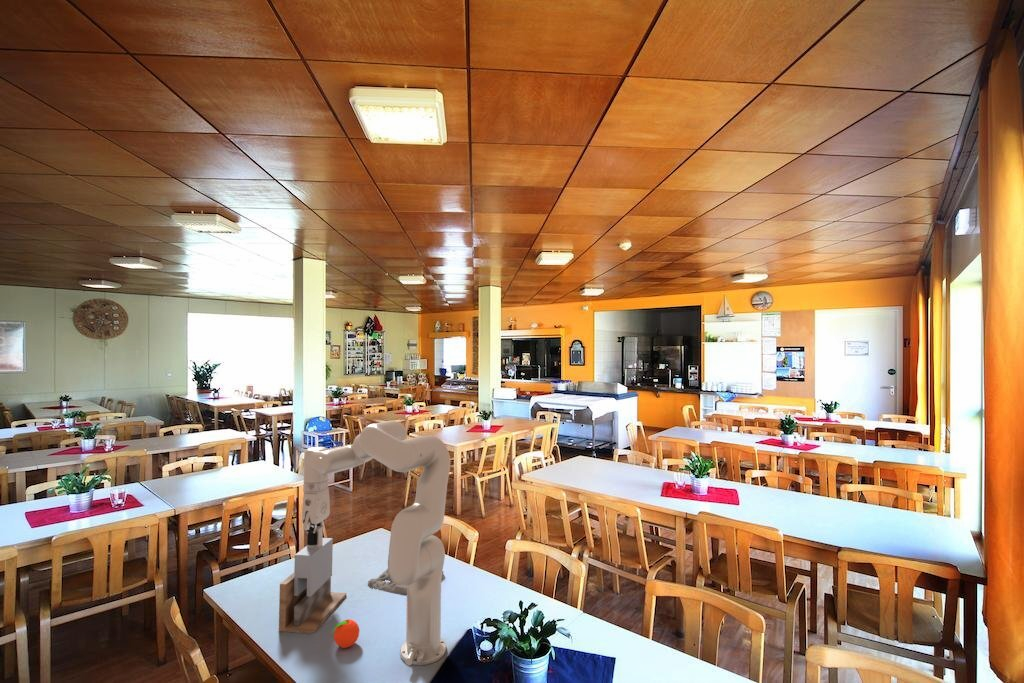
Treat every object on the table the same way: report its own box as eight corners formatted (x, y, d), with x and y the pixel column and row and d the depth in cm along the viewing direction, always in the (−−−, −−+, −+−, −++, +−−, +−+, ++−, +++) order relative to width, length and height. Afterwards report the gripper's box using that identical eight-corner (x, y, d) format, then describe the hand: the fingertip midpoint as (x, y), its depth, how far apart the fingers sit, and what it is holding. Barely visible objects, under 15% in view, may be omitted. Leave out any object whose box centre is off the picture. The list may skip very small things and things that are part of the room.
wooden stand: (313, 633, 140) (314, 585, 140) (278, 631, 141) (279, 583, 141) (346, 596, 162) (347, 555, 162) (315, 594, 163) (316, 553, 163)
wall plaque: (446, 576, 178) (446, 565, 178) (420, 600, 160) (420, 589, 160) (393, 566, 186) (393, 556, 186) (363, 588, 168) (363, 577, 168)
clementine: (333, 658, 129) (334, 631, 129) (326, 645, 134) (327, 620, 135) (362, 647, 133) (363, 622, 134) (354, 635, 139) (355, 611, 139)
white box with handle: (310, 596, 144) (311, 536, 145) (293, 595, 145) (295, 535, 146) (332, 575, 158) (333, 520, 159) (316, 574, 159) (317, 519, 160)
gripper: (314, 493, 144) (313, 553, 144) (338, 479, 160) (337, 534, 160) (291, 492, 145) (289, 552, 144) (317, 479, 161) (316, 533, 161)
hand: (314, 542), depth 152 cm, fingers closed on white box with handle, 2 cm apart
